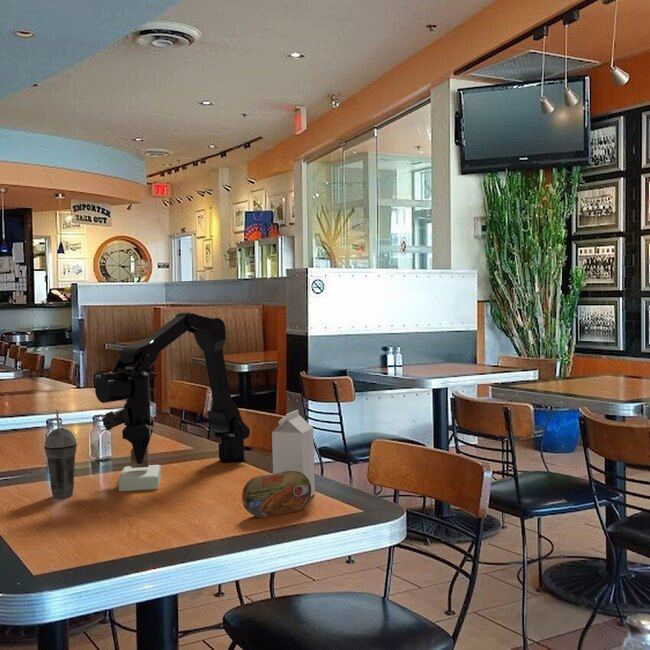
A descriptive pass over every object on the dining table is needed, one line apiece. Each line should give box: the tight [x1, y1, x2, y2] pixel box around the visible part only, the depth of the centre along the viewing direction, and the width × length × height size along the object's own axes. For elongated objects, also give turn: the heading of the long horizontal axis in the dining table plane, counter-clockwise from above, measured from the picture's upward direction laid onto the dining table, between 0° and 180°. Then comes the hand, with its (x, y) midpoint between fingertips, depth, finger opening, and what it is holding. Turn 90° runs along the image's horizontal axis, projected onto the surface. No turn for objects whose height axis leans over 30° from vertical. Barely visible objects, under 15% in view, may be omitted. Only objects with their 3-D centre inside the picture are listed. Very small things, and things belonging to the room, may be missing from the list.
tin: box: [241, 471, 312, 519], centre depth 166 cm, size 15×3×8 cm, turn 120°
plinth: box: [117, 464, 162, 492], centre depth 196 cm, size 9×14×3 cm, turn 9°
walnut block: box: [130, 447, 150, 468], centre depth 196 cm, size 4×4×4 cm
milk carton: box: [271, 409, 316, 498], centre depth 178 cm, size 7×7×19 cm
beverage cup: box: [43, 409, 78, 499], centre depth 185 cm, size 7×7×20 cm
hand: (140, 461), depth 196 cm, fingers closed on walnut block, 4 cm apart
